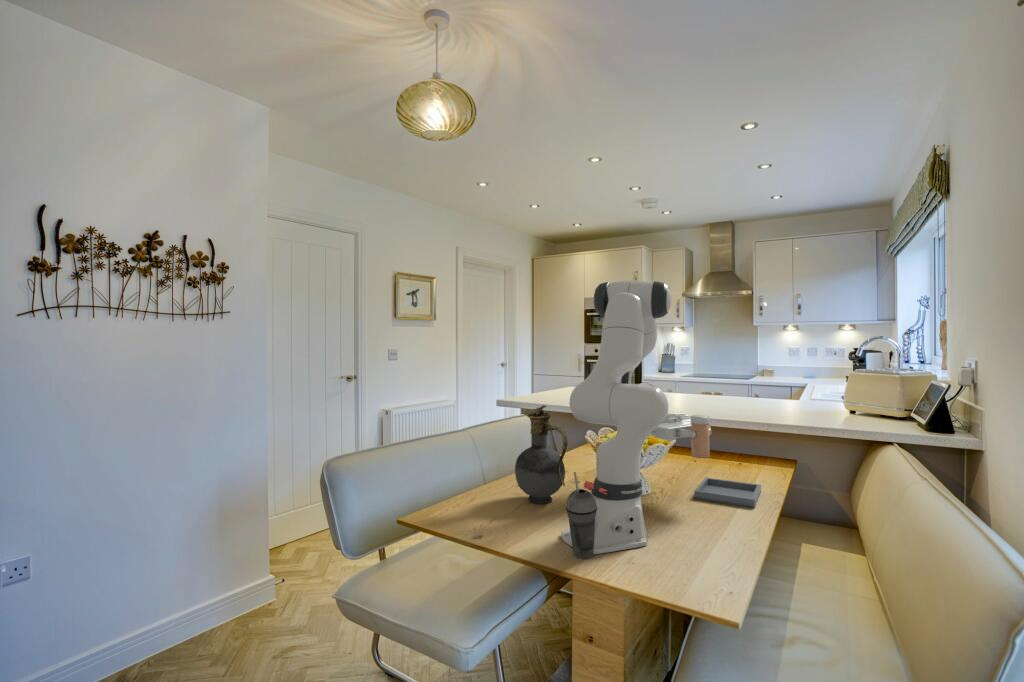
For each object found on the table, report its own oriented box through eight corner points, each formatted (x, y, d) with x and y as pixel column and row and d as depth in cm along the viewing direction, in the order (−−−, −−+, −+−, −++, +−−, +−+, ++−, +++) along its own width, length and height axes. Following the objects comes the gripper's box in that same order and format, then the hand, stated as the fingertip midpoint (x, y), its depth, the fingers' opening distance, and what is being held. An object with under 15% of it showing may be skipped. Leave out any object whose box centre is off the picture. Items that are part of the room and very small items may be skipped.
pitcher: (534, 491, 163) (532, 401, 163) (579, 504, 149) (577, 406, 149) (510, 498, 156) (509, 404, 155) (555, 513, 142) (553, 410, 142)
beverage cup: (599, 563, 110) (596, 478, 108) (567, 562, 112) (563, 478, 109) (598, 545, 118) (595, 466, 115) (568, 544, 119) (564, 466, 116)
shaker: (701, 459, 143) (701, 418, 143) (687, 455, 147) (687, 416, 147) (713, 456, 145) (713, 416, 145) (699, 453, 150) (698, 414, 150)
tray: (754, 508, 144) (754, 499, 144) (694, 498, 153) (694, 490, 153) (761, 492, 158) (760, 484, 158) (705, 484, 167) (705, 477, 167)
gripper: (643, 419, 153) (678, 426, 141) (688, 413, 163) (724, 419, 151) (643, 439, 153) (678, 448, 141) (689, 432, 163) (725, 440, 151)
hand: (702, 433), depth 146 cm, fingers closed on shaker, 5 cm apart
